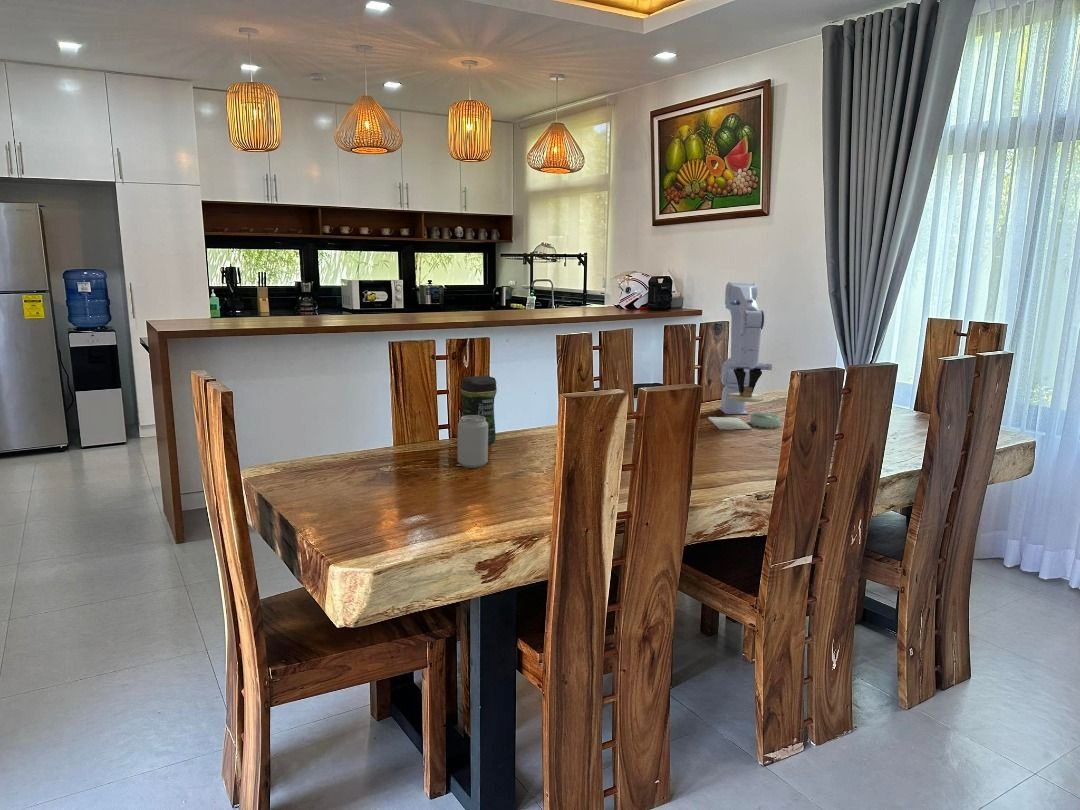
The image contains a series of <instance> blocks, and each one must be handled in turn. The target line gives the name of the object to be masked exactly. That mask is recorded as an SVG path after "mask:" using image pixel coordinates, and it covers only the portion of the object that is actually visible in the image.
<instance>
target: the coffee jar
mask: <svg viewBox="0 0 1080 810" xmlns="http://www.w3.org/2000/svg"><path fill="white" fill-rule="evenodd" d="M497 391H498V389H497V380H496V377H493V376H489V375H478V376H475V375H474V376H467V377H465V376H464V377H463V378H462V379H461V384H460V394H461V397H462V411H461V417H462V416H467V415H478V416H483V417H485V418H486V420H485V421H486V422H487V423H488V445H489V444H493V443H495V441H496V434H497V433H496V424H495V397H496V395H497V393H498V392H497Z"/></svg>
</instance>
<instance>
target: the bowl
mask: <svg viewBox="0 0 1080 810" xmlns="http://www.w3.org/2000/svg"><path fill="white" fill-rule="evenodd" d="M749 424H750V425H751V424H752V425H751V426H753V425H754V426H753V427H756V426H759V427H758V428H761V427H778V426H779V427H780V426H781V425H780V424H781V415H778V414H776V413H770V412H752V413H750V422H749ZM779 427H778V428H779Z"/></svg>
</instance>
